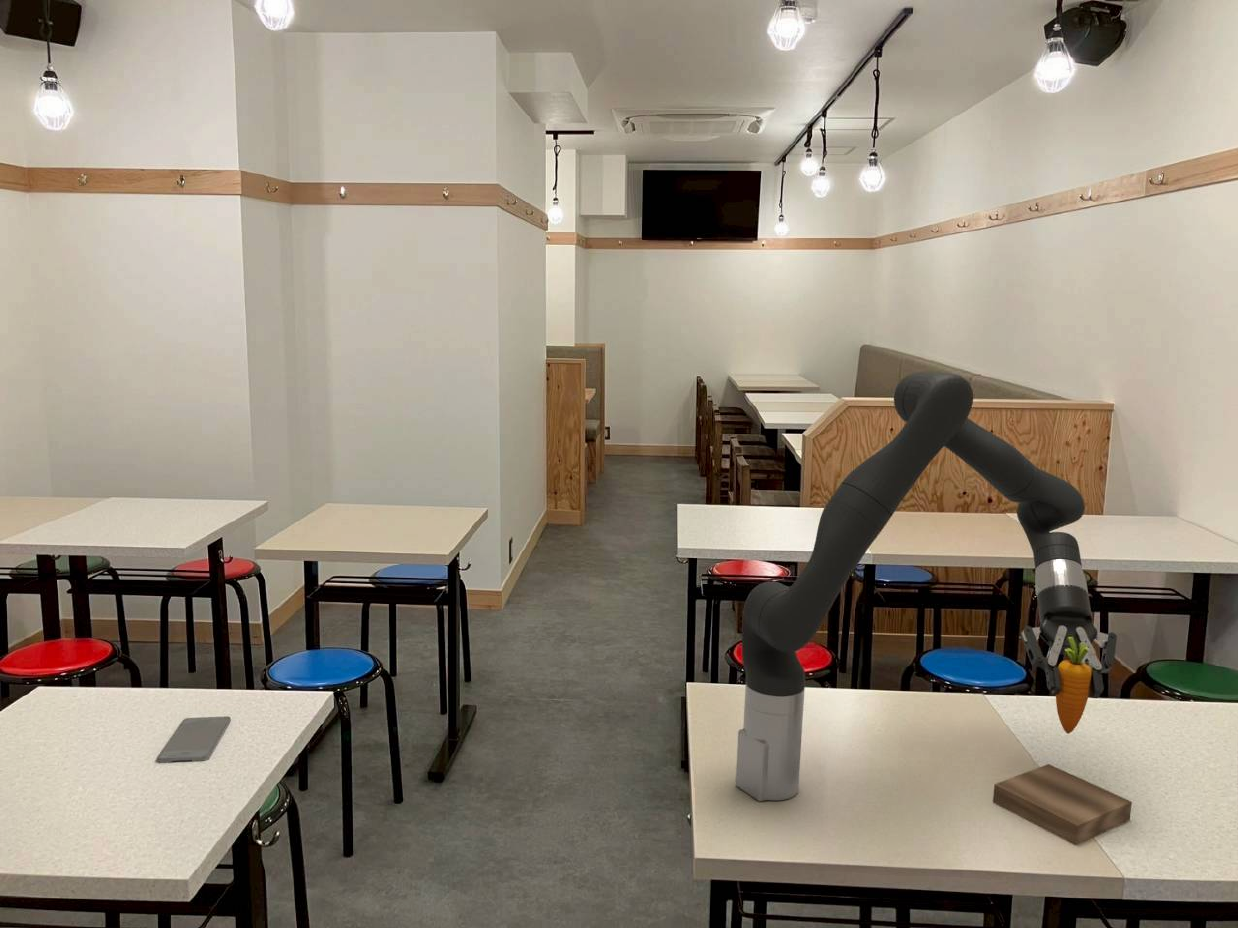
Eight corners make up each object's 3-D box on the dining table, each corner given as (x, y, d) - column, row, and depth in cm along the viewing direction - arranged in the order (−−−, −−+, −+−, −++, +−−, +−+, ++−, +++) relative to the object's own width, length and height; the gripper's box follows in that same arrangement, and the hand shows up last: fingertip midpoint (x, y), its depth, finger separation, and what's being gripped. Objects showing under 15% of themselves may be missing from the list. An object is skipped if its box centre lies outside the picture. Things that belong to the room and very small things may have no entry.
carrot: (1089, 741, 142) (1100, 647, 140) (1054, 738, 143) (1064, 643, 141) (1080, 727, 147) (1091, 635, 145) (1046, 724, 148) (1056, 632, 146)
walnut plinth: (1075, 844, 137) (1077, 825, 137) (992, 801, 149) (994, 784, 149) (1129, 819, 145) (1131, 801, 144) (1046, 780, 157) (1048, 763, 156)
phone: (155, 766, 154) (155, 758, 154) (184, 724, 170) (183, 717, 170) (208, 763, 156) (207, 756, 155) (231, 722, 171) (231, 715, 171)
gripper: (1020, 579, 150) (1032, 680, 140) (1117, 586, 148) (1136, 689, 138) (1009, 601, 156) (1020, 699, 146) (1102, 608, 154) (1119, 708, 144)
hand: (1076, 693), depth 142 cm, fingers closed on carrot, 5 cm apart
